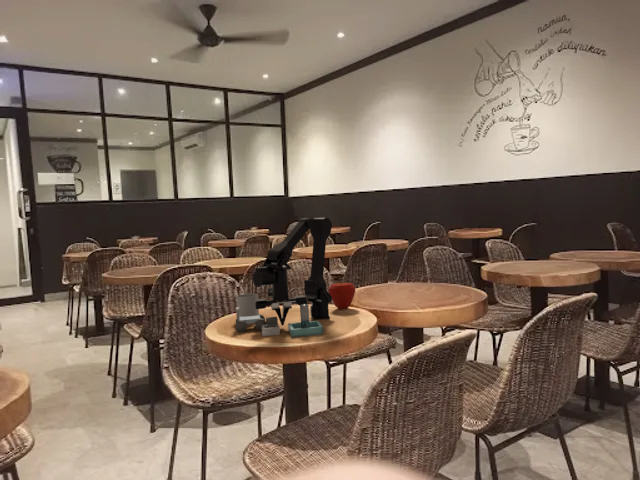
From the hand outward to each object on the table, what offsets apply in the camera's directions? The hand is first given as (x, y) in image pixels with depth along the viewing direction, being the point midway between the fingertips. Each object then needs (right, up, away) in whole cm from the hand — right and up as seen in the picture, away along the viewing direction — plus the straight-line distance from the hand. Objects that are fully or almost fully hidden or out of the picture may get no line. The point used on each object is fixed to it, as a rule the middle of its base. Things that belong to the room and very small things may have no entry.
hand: (282, 325), depth 177 cm
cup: (-15, -1, +17) cm, 22 cm away
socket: (-4, -2, -7) cm, 8 cm away
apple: (+23, +2, +29) cm, 38 cm away
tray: (+9, -1, -8) cm, 12 cm away
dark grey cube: (-4, -1, 0) cm, 4 cm away
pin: (+9, 0, -8) cm, 12 cm away
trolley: (-11, -2, +2) cm, 12 cm away
